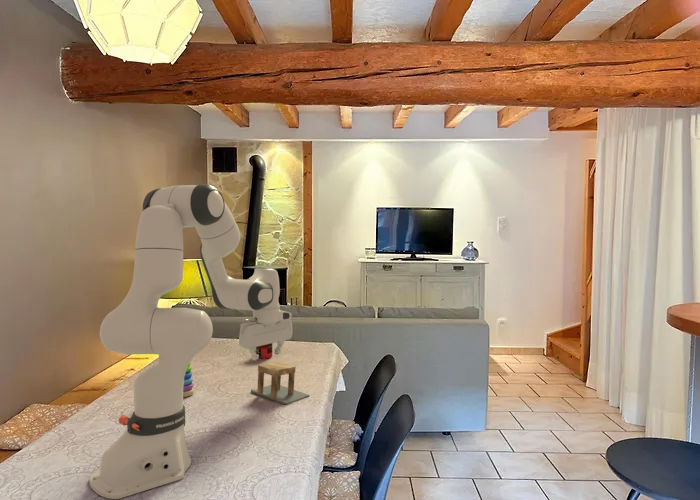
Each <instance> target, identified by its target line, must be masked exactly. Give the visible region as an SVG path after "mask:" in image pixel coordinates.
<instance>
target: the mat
mask: <svg viewBox="0 0 700 500" xmlns="http://www.w3.org/2000/svg"><path fill="white" fill-rule="evenodd" d="M250 393H251V394H254V395H256V396H260V397H262V398H265V399H268V400H270V401H273V402H275V403H278V404H281V405H284V406H287V405H289V404H292V403H294V402H295V403H296V402H298V401H300V400H303V399H306V398H309V397H310V396H311V395H310V394H307V393H304V392H302V391H298V390H295V389H294V394H292V395H289V394H288V386H284V385H281V384H280V390H277V397H276V399H272V398H270V396H271V384H269V385H266V386H263V394H258V393H257V388H256V389H255V388H251V389H250Z"/></svg>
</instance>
